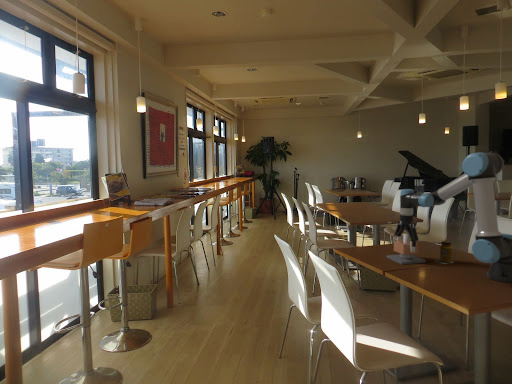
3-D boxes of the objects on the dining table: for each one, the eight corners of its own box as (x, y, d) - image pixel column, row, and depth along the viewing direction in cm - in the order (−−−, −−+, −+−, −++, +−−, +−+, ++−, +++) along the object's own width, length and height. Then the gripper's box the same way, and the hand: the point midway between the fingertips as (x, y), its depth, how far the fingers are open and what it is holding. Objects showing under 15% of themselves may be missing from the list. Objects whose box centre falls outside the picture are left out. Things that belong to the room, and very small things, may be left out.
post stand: (425, 262, 222) (426, 236, 221) (401, 264, 219) (402, 237, 217) (409, 256, 238) (409, 231, 236) (386, 257, 234) (386, 232, 233)
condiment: (454, 262, 222) (455, 242, 221) (444, 264, 218) (445, 244, 218) (443, 259, 229) (444, 240, 228) (434, 261, 225) (434, 241, 224)
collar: (418, 253, 224) (418, 243, 223) (403, 254, 222) (403, 244, 221) (408, 249, 234) (408, 240, 233) (393, 250, 231) (393, 241, 231)
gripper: (425, 217, 215) (424, 253, 216) (399, 211, 239) (399, 244, 241) (414, 217, 213) (413, 254, 215) (389, 212, 237) (388, 245, 239)
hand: (405, 249), depth 228 cm, fingers open, 13 cm apart
